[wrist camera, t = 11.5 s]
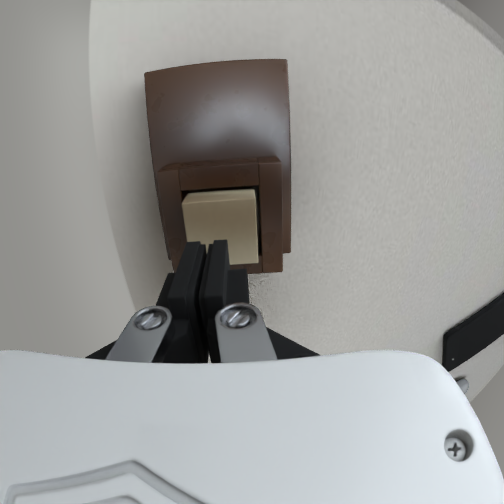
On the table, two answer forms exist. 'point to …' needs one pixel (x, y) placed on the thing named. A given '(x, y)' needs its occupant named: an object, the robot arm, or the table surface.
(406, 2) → the table surface
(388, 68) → the table surface
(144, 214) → the table surface
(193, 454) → the robot arm
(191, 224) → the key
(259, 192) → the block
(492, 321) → the cell phone
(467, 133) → the table surface
